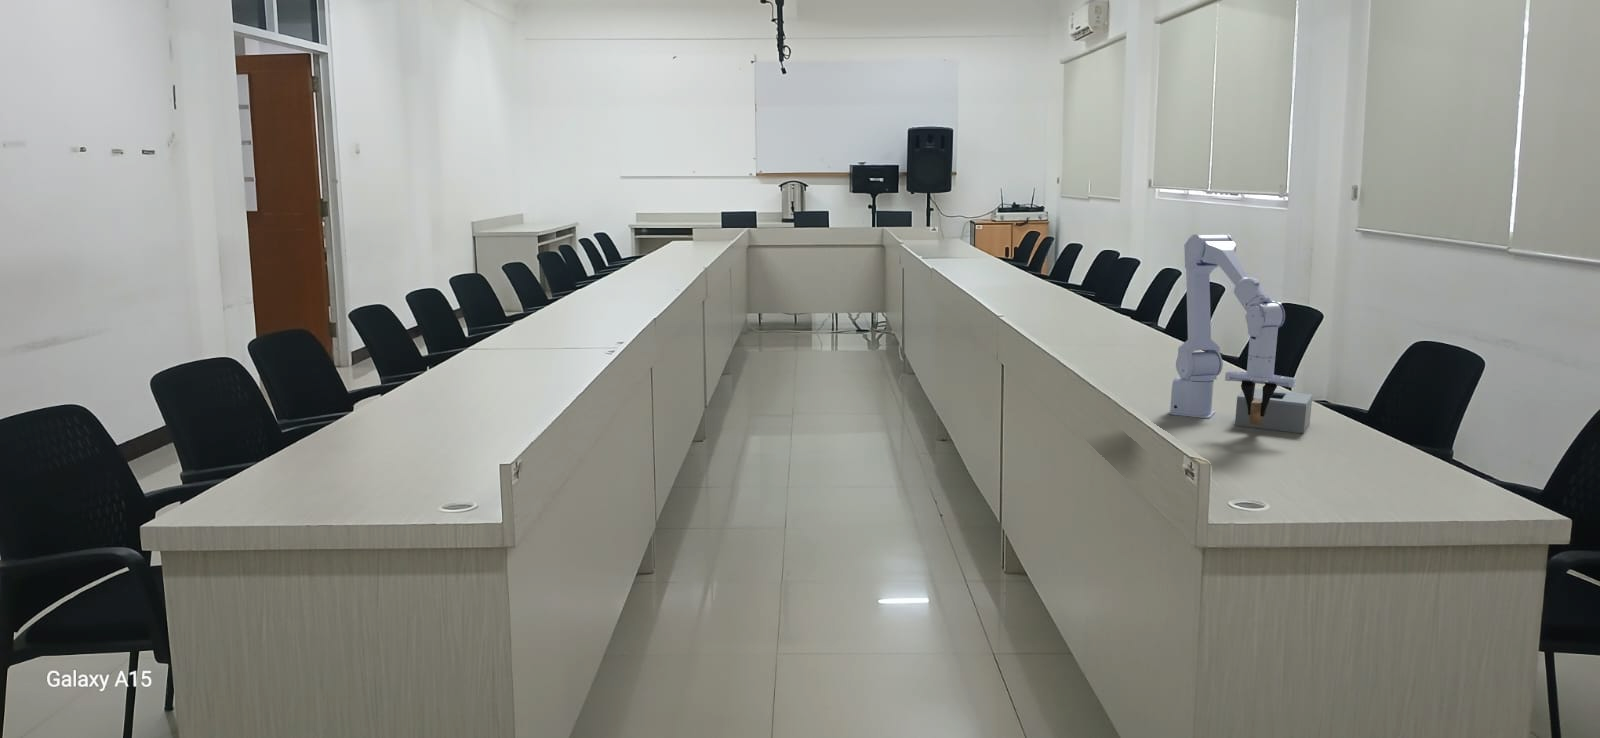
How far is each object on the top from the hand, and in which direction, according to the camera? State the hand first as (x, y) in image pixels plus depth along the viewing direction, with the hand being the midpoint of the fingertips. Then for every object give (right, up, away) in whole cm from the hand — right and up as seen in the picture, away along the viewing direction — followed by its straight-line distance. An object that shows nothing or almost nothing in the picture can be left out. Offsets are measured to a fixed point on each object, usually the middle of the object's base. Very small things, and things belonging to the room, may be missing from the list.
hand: (1256, 414), depth 263 cm
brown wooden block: (0, -2, 0) cm, 2 cm away
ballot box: (+8, -3, +11) cm, 14 cm away
